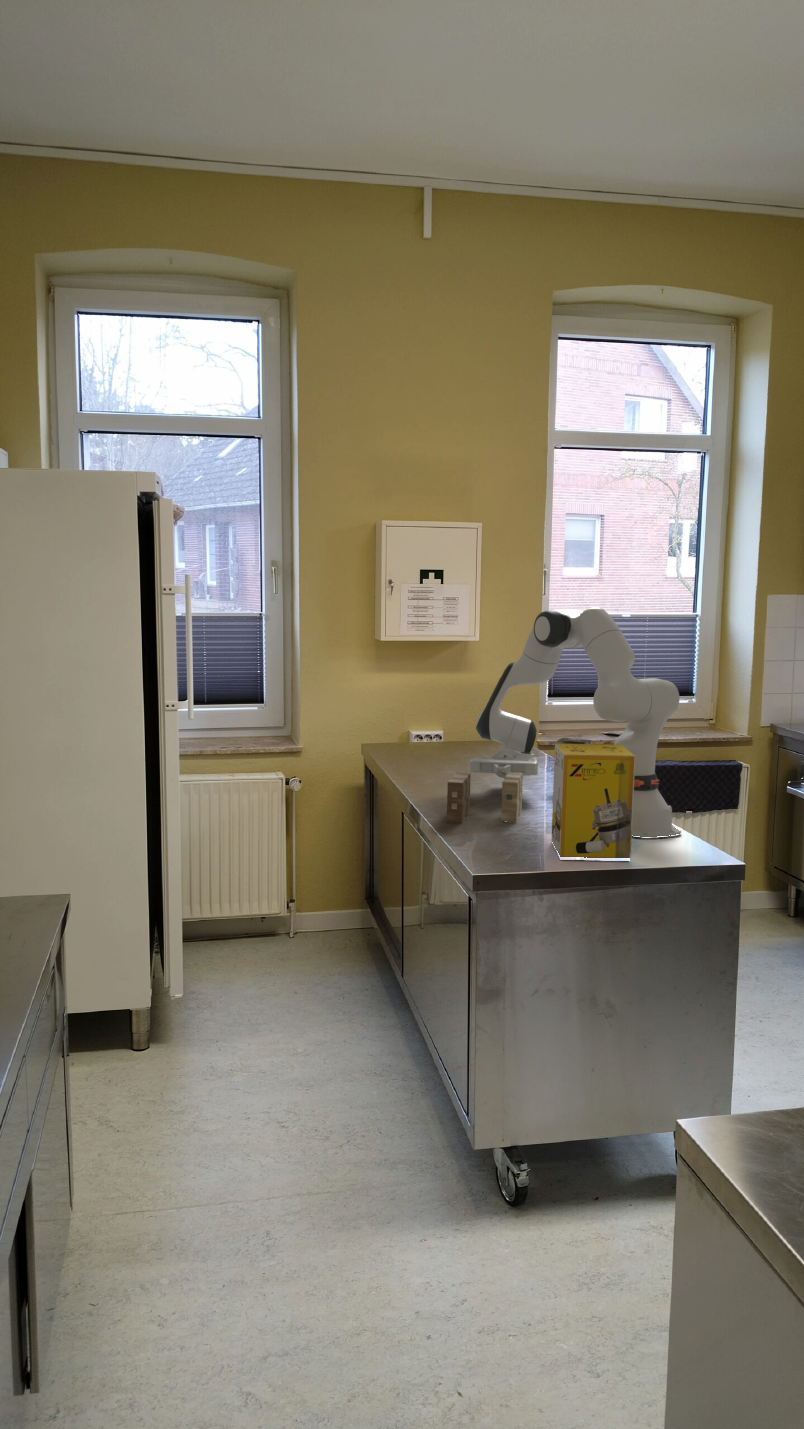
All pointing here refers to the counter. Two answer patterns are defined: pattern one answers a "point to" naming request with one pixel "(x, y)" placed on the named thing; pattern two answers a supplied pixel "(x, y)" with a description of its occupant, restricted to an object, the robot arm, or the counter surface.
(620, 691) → the robot arm
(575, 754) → the packaging box
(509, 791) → the maple tile one
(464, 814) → the walnut tile two
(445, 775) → the counter surface
